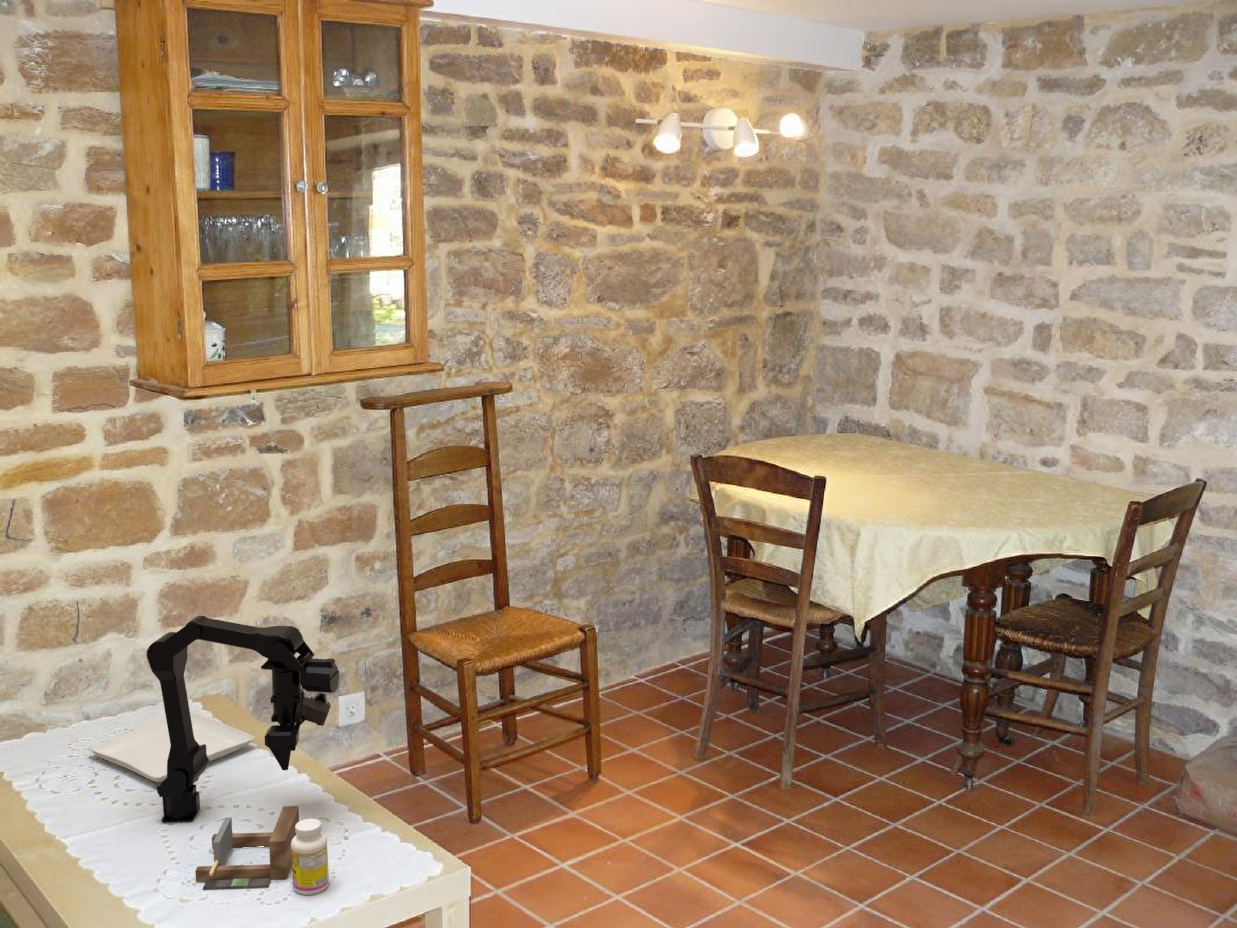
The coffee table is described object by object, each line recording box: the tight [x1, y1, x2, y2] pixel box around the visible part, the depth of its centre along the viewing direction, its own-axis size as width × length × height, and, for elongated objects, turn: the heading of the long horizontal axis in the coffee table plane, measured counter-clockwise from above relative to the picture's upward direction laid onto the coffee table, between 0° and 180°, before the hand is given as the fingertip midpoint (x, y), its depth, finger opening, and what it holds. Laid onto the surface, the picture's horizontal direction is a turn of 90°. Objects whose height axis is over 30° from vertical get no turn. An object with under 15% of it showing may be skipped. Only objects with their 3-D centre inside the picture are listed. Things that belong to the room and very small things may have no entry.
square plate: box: [87, 711, 256, 783], centre depth 290 cm, size 27×27×4 cm
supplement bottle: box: [291, 818, 330, 896], centre depth 232 cm, size 7×7×13 cm
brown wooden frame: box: [195, 805, 300, 891], centre depth 240 cm, size 17×17×8 cm
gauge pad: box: [209, 816, 233, 876], centre depth 239 cm, size 1×15×6 cm, turn 4°
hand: (288, 759), depth 255 cm, fingers open, 9 cm apart
